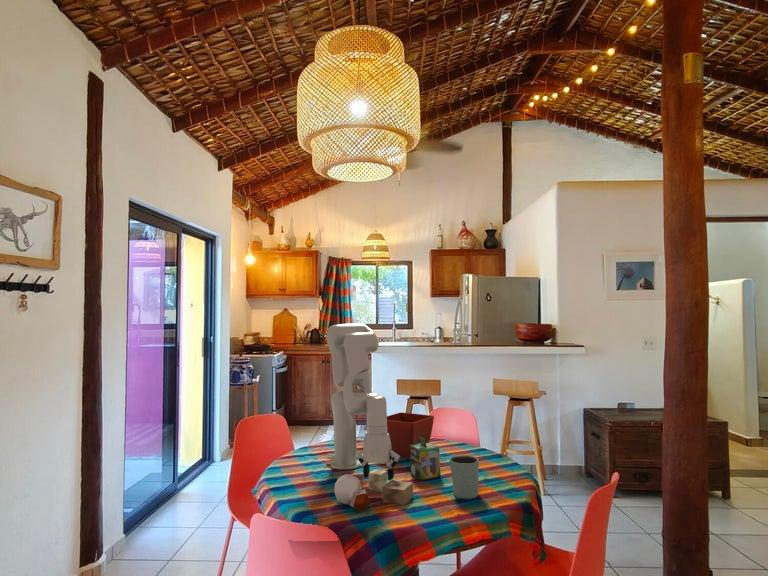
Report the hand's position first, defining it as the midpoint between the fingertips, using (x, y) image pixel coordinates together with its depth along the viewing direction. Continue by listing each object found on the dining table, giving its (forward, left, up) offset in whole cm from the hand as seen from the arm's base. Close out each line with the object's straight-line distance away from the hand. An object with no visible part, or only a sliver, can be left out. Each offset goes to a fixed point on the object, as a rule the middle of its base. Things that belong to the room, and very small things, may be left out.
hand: (378, 477), depth 177 cm
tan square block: (+10, -7, -4) cm, 13 cm away
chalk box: (+10, +20, -4) cm, 23 cm away
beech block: (-1, 0, -4) cm, 4 cm away
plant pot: (-8, +45, -4) cm, 46 cm away
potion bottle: (-1, -17, -4) cm, 18 cm away
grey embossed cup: (+30, +6, -4) cm, 31 cm away
